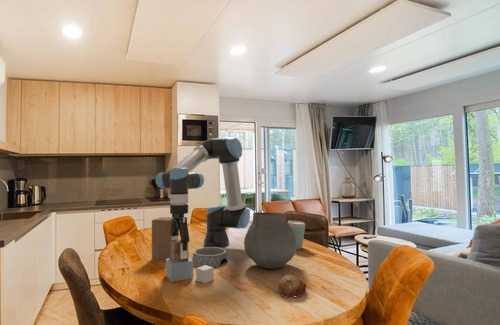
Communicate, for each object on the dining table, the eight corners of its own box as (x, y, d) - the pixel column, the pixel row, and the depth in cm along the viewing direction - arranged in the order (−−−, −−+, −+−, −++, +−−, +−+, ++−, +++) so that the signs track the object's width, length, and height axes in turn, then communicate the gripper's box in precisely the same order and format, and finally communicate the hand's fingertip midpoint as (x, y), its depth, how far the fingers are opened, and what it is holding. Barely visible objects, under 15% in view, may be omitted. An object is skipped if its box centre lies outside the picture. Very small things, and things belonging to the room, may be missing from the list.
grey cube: (205, 277, 130) (205, 265, 130) (213, 279, 127) (213, 267, 127) (196, 280, 126) (196, 268, 127) (204, 283, 123) (204, 270, 123)
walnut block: (184, 257, 135) (184, 238, 135) (188, 260, 130) (188, 241, 130) (170, 259, 132) (170, 240, 132) (174, 262, 127) (174, 243, 127)
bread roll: (280, 297, 117) (271, 278, 117) (304, 284, 118) (295, 265, 118) (285, 308, 108) (275, 288, 107) (311, 294, 108) (302, 274, 108)
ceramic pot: (301, 261, 152) (300, 209, 152) (291, 277, 129) (290, 216, 130) (253, 257, 160) (253, 208, 160) (236, 271, 137) (235, 214, 137)
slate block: (186, 271, 137) (186, 255, 137) (193, 278, 129) (193, 261, 129) (166, 275, 132) (166, 258, 133) (171, 281, 125) (171, 264, 125)
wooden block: (169, 260, 155) (169, 220, 155) (151, 259, 157) (151, 219, 157) (178, 255, 164) (178, 217, 165) (160, 254, 166) (160, 216, 167)
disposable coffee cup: (305, 245, 182) (304, 220, 183) (306, 250, 172) (306, 223, 172) (286, 245, 183) (286, 220, 184) (287, 250, 173) (287, 223, 173)
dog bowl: (234, 259, 156) (234, 248, 157) (212, 269, 141) (212, 257, 141) (208, 255, 165) (208, 244, 165) (184, 264, 150) (184, 252, 150)
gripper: (163, 202, 141) (163, 249, 140) (178, 207, 119) (178, 263, 118) (179, 201, 144) (179, 247, 144) (197, 206, 122) (197, 260, 122)
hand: (179, 254), depth 131 cm, fingers open, 13 cm apart
